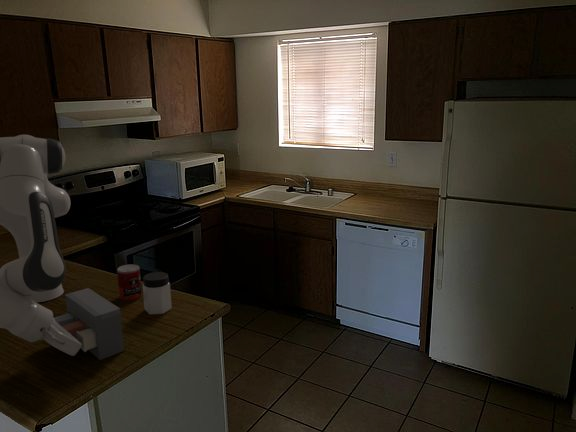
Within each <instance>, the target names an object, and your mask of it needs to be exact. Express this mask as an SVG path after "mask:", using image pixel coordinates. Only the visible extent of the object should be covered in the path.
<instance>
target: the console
mask: <svg viewBox="0 0 576 432" xmlns="http://www.w3.org/2000/svg"><path fill="white" fill-rule="evenodd" d="M64 297H65V306H66V314H68V313H71V314H73V315H74V316H75V321H79V320H80V321H82V322H83V323H84V324H85V329H89V328H91V329H92V330H93V331H94V332H96V341H97V347H94V348H91V349H89V350H88V352H90V353H91V354H92V355H93V356H95V357H96V358H97V360H99V361H102V360H104V359H107V358H109V357H113V356H114V355H117V354H120V353H122V352H124V351H125V345H124V335H123V325H122V315H121V314H122V313H121V308H120V307H118V306H117V305H115V304H114V303H112V302H110V301H109V300H108V299H106V298H105V297H103V296H101V295H100V294H98V293H97V292H95V291H94V290H92V289H91V288H89V287H87V288H84V289H79V290H77V291H73V292H69V293H65V294H64Z"/></svg>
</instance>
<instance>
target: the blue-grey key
mask: <svg viewBox="0 0 576 432" xmlns="http://www.w3.org/2000/svg"><path fill="white" fill-rule="evenodd" d="M53 318H54V319H55V321H56V322H57V323H58V324H59V325H60V326H63V325H66V324H69V323H73V322H76V321H75V316H74V315H73V314H71V313H68V314H67V313H64V314H61V315H59V316H56V317H53Z"/></svg>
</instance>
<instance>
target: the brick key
mask: <svg viewBox="0 0 576 432" xmlns="http://www.w3.org/2000/svg"><path fill="white" fill-rule="evenodd" d="M62 327H63V328H64V329H65V330H66V331H67V332H69V333H70V334H71V335H72V336H73V337H74V338H76V339H77V333H76V332H77V331H79V332H80V331H83V330H86V329H85V324H84V323H83V322H82V321H80V320H79V321H76V322H73V323H69V324H66V325H63V326H62Z"/></svg>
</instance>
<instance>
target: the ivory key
mask: <svg viewBox="0 0 576 432" xmlns="http://www.w3.org/2000/svg"><path fill="white" fill-rule="evenodd" d="M76 333H77V340H78V341H79V342H81V343H82V346H81V348H80V349H81V350H82V351H83V352H84V353H86V352H87V351H89V349H91V348H94V347H97V341H96V332H94V331H93V330H92V329H91V328H89V329H86V330H83V331H80V332H79V331H77V332H76Z"/></svg>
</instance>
